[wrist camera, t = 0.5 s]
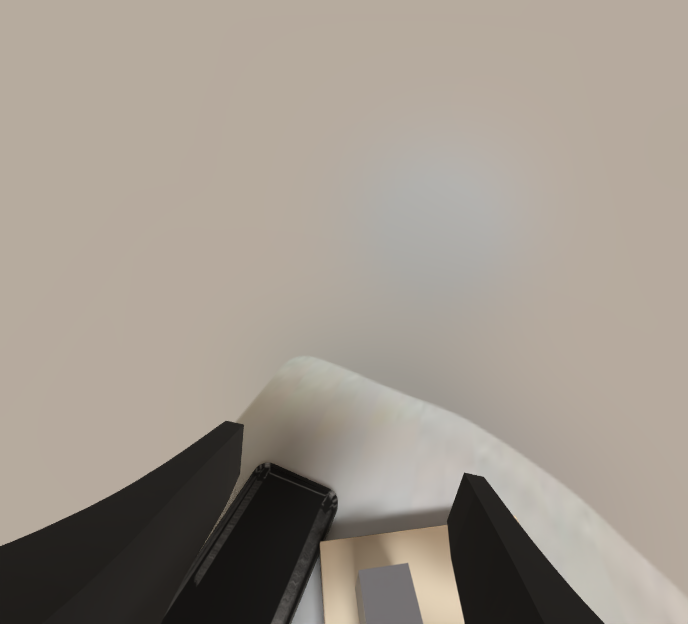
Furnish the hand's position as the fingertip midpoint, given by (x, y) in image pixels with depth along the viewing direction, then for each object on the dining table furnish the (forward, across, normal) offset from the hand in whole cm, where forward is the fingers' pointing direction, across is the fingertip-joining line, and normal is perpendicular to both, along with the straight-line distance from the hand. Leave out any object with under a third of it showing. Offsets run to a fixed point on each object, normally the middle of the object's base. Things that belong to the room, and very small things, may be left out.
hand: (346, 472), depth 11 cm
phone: (+7, +5, +18) cm, 20 cm away
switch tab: (+5, -4, +15) cm, 16 cm away
